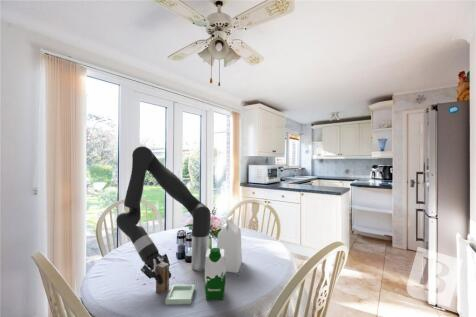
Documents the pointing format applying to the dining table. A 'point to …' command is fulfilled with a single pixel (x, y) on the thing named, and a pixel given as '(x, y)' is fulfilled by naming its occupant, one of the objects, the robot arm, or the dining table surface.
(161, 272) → the brown wooden slotted block
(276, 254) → the dining table surface
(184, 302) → the rest
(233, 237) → the milk
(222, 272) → the milk carton
